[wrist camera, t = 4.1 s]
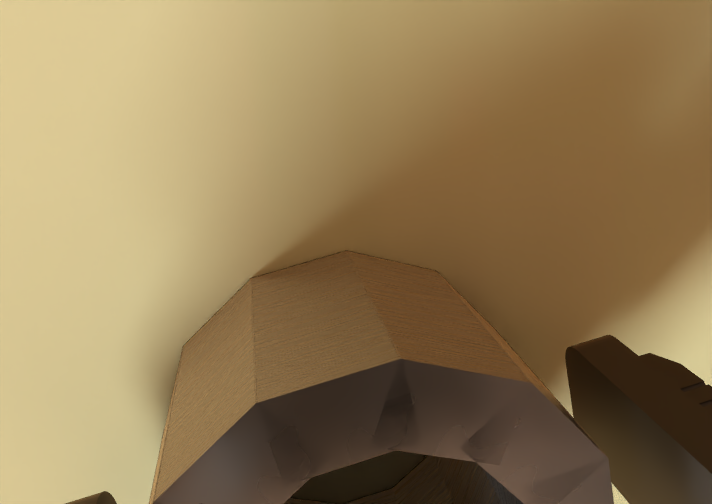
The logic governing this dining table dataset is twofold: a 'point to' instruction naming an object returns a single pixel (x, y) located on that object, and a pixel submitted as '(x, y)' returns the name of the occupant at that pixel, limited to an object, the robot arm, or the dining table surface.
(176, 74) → the dining table surface
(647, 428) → the robot arm
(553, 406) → the steel ring
